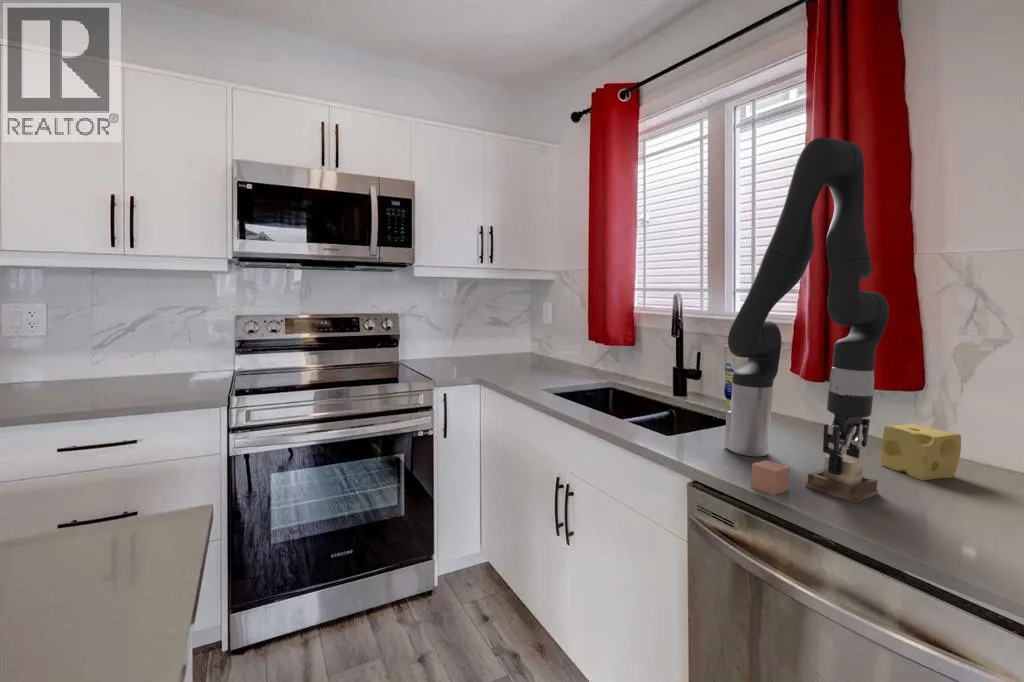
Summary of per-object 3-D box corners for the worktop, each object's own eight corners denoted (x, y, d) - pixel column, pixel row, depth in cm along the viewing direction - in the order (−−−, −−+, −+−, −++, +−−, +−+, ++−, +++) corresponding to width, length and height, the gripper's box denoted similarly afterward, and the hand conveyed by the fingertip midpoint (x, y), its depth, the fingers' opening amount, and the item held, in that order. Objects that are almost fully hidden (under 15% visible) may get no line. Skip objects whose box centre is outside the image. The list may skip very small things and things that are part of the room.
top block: (750, 487, 105) (752, 463, 105) (764, 482, 108) (766, 459, 107) (773, 495, 101) (775, 471, 100) (787, 490, 104) (789, 467, 103)
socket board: (805, 486, 106) (806, 473, 105) (828, 478, 111) (829, 466, 111) (855, 503, 98) (857, 489, 98) (878, 493, 103) (879, 480, 103)
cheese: (923, 481, 111) (928, 436, 110) (876, 465, 121) (880, 423, 120) (958, 478, 113) (963, 434, 112) (909, 462, 124) (913, 421, 123)
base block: (822, 484, 105) (825, 456, 104) (834, 479, 108) (837, 452, 107) (848, 492, 101) (851, 463, 100) (860, 487, 103) (863, 459, 103)
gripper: (847, 384, 109) (840, 459, 111) (812, 390, 101) (805, 471, 103) (888, 390, 103) (879, 470, 105) (853, 397, 95) (845, 483, 97)
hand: (843, 470), depth 104 cm, fingers open, 6 cm apart
